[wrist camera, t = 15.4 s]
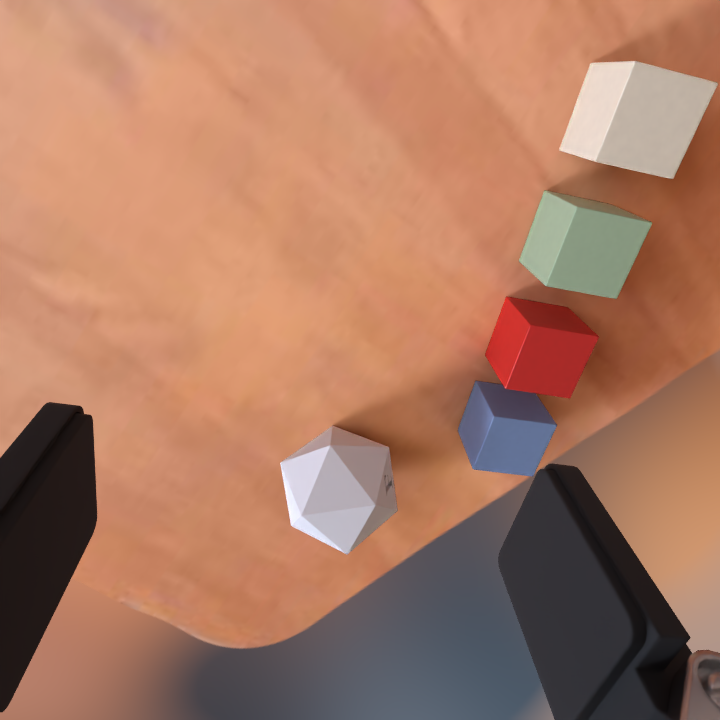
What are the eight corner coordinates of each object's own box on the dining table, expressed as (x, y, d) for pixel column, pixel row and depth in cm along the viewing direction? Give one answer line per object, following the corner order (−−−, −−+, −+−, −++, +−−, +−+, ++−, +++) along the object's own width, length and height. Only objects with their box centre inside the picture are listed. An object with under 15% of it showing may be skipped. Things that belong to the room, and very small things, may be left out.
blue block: (475, 380, 41) (493, 416, 37) (532, 388, 42) (557, 425, 38) (457, 430, 44) (472, 469, 39) (512, 437, 44) (533, 476, 40)
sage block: (544, 189, 34) (577, 206, 30) (611, 204, 35) (653, 222, 31) (518, 261, 37) (545, 286, 32) (582, 273, 37) (617, 299, 33)
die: (360, 500, 48) (431, 537, 39) (270, 537, 43) (329, 587, 34) (347, 411, 46) (417, 429, 38) (253, 439, 42) (309, 466, 33)
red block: (505, 296, 38) (530, 324, 33) (568, 307, 39) (599, 336, 34) (484, 355, 40) (504, 389, 36) (543, 364, 41) (570, 398, 37)
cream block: (590, 62, 31) (635, 60, 26) (663, 81, 32) (719, 82, 27) (558, 150, 33) (594, 161, 29) (627, 166, 34) (673, 179, 30)
